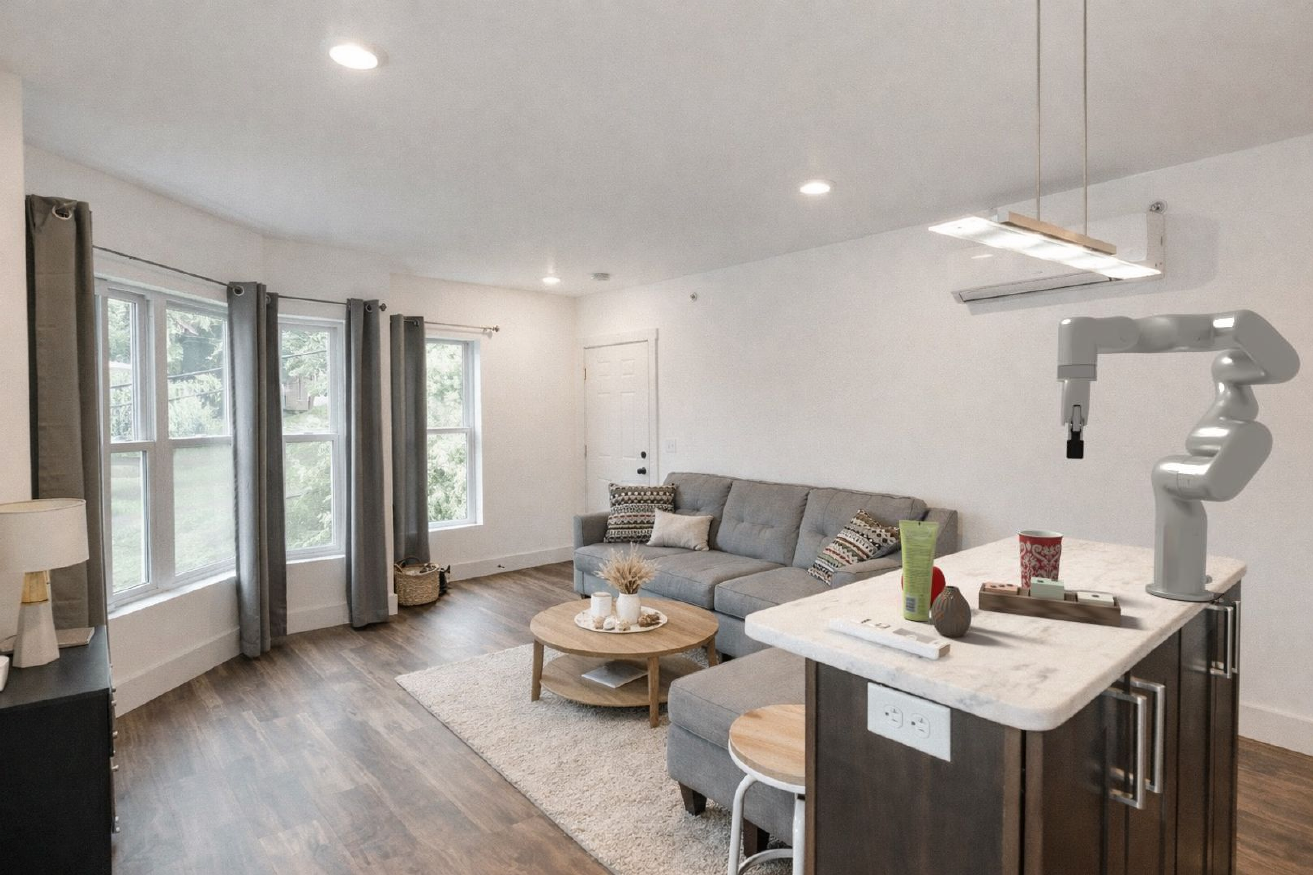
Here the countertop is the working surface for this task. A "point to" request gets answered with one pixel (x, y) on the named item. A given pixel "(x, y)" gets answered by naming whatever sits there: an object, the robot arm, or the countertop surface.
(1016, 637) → the countertop surface
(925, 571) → the tube
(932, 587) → the fruit
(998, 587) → the tile three
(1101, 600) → the tile one
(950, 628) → the vase
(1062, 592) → the tile two
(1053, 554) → the mug
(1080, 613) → the wooden compartment tray
